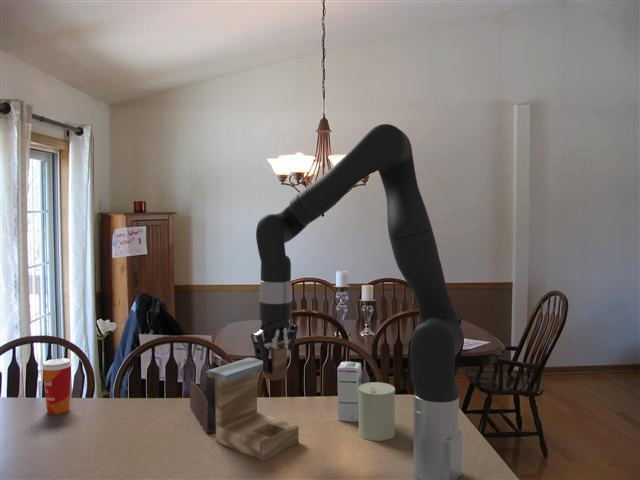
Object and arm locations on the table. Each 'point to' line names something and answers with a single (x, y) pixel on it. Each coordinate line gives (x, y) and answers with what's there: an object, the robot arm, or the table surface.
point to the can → (376, 411)
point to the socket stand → (247, 413)
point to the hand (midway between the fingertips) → (274, 370)
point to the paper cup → (57, 385)
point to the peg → (278, 364)
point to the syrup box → (349, 391)
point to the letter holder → (205, 403)
